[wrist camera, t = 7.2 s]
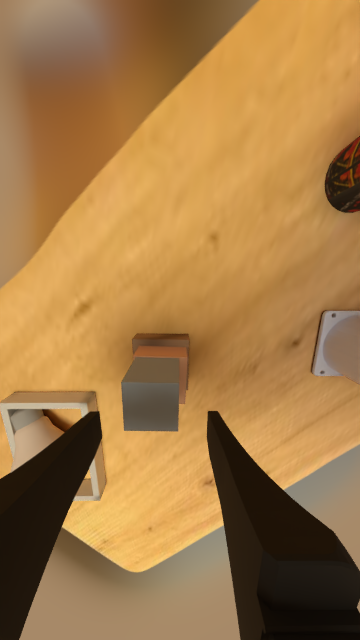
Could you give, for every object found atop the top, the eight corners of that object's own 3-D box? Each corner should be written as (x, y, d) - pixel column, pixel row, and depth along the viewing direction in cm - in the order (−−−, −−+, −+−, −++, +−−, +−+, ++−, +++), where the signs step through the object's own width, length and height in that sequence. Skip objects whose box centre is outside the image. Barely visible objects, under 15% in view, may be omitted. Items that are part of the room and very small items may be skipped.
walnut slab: (187, 332, 20) (189, 339, 18) (186, 378, 22) (187, 390, 19) (137, 332, 20) (132, 339, 18) (139, 377, 22) (134, 389, 19)
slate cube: (179, 358, 16) (179, 383, 12) (178, 396, 17) (177, 431, 13) (135, 357, 16) (121, 382, 12) (137, 395, 17) (124, 430, 13)
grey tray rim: (95, 391, 22) (86, 402, 20) (106, 483, 25) (100, 500, 23) (14, 392, 21) (-2, 403, 20) (36, 483, 25) (24, 501, 23)
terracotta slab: (186, 347, 18) (187, 357, 16) (184, 388, 19) (185, 404, 17) (139, 345, 18) (133, 355, 16) (140, 387, 19) (134, 402, 17)
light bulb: (-37, 432, 17) (2, 541, 16) (27, 401, 18) (68, 503, 17) (20, 407, 24) (50, 483, 23) (65, 384, 24) (96, 458, 24)
